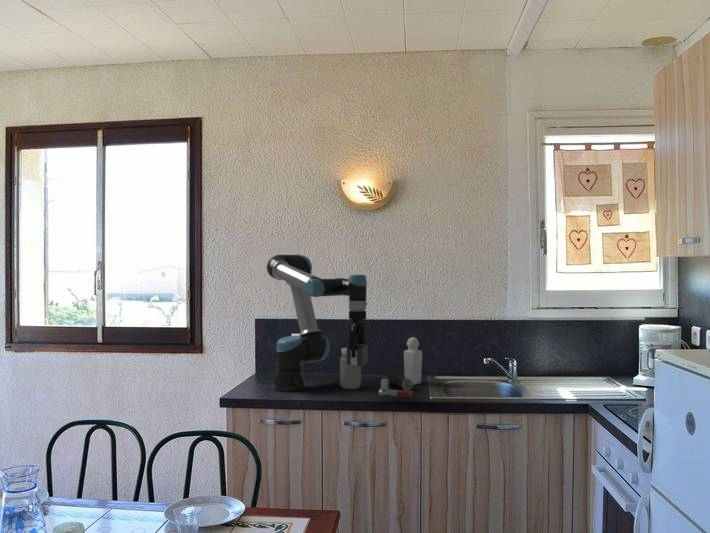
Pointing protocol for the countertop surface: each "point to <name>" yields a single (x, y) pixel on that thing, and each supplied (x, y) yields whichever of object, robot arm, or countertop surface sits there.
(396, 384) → the flashlight
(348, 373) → the jar
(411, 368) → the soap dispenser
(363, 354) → the speaker cube
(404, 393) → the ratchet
